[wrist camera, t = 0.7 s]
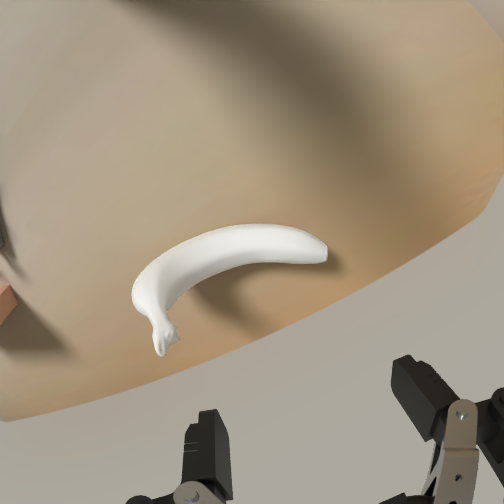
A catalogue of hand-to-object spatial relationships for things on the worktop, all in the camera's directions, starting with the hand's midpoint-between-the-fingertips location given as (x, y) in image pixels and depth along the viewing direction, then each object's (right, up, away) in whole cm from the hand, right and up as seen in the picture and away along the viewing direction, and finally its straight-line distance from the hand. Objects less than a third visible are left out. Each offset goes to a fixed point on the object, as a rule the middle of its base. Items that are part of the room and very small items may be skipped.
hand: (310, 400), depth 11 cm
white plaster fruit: (-5, +7, +21) cm, 23 cm away
